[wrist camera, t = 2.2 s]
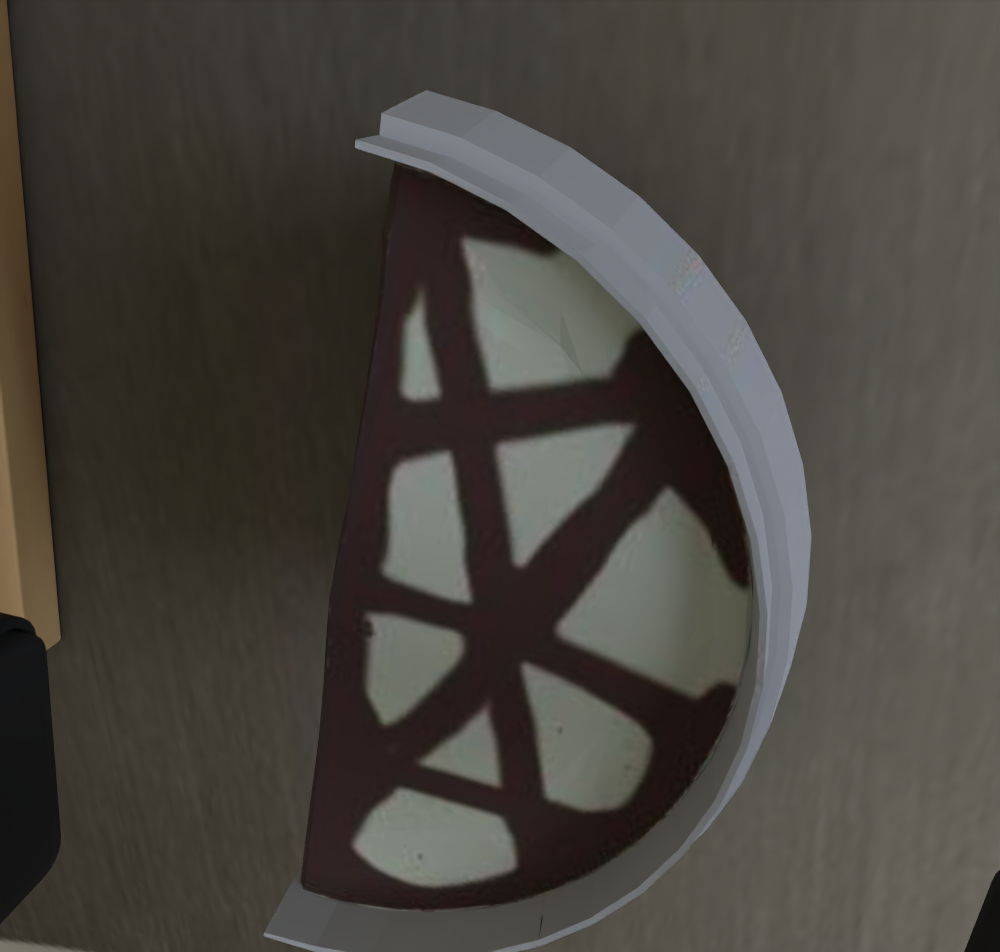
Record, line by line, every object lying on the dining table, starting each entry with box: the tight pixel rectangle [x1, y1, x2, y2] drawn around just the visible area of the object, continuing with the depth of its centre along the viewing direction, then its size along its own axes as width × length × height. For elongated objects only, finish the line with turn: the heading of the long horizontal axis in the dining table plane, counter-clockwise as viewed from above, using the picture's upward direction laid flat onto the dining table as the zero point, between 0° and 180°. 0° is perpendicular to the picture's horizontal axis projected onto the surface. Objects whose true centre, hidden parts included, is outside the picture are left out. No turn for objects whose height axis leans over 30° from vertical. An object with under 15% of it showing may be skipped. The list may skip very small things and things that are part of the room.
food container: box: [264, 90, 811, 952], centre depth 16 cm, size 12×6×10 cm, turn 169°
